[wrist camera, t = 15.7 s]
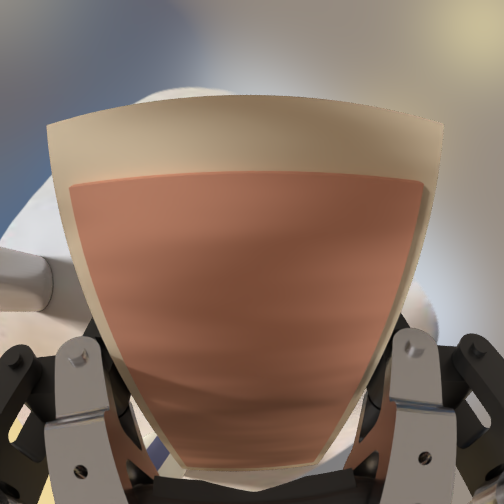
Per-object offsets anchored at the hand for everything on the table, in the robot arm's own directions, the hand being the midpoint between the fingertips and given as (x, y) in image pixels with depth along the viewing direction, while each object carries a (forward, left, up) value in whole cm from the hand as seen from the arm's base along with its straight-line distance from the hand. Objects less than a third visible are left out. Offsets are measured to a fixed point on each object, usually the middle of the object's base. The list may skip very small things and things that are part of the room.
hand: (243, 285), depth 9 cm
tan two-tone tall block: (0, -7, -3) cm, 8 cm away
